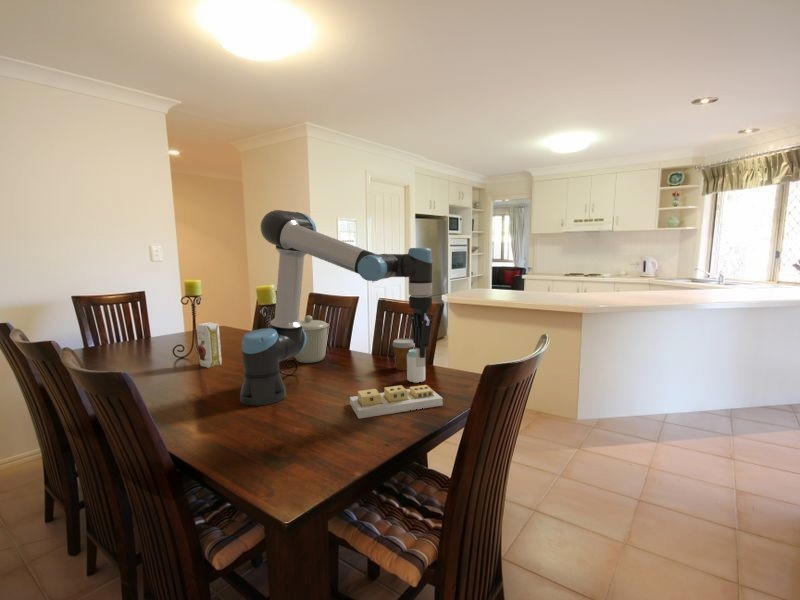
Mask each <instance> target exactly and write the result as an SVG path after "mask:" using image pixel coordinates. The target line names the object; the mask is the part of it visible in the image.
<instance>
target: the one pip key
mask: <svg viewBox="0 0 800 600" xmlns="http://www.w3.org/2000/svg"><path fill="white" fill-rule="evenodd" d="M380 393H381V392H379V391H378V390H377V389H376V388H371V389H364V390H363V389H362V390H358V391H357V396H358V402H359V404H360V405H361V407H365V406H372V405H378V404H381V395H380Z"/></svg>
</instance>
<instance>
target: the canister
mask: <svg viewBox="0 0 800 600" xmlns="http://www.w3.org/2000/svg"><path fill="white" fill-rule="evenodd" d="M300 322H301V323H302V328H303V329H304V332H305V333H306V336H307V341H306V345H305V347H304V349H303V350H302V351H301V352H300V353H298V354H297V355H295V356H294V357H295V360H296V361H297V362H299V363H301V364H313V363H319V362H321V361H322V360H324V359H325V356H326V351H327V341H328V339H327V338H328V327H329V326H330V324H329V323H327V322H326V321H324V320H319V319H313V316H311V315H309V314H308V315H306V316H304V320H300Z"/></svg>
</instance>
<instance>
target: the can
mask: <svg viewBox="0 0 800 600" xmlns="http://www.w3.org/2000/svg"><path fill="white" fill-rule="evenodd" d="M406 375H407V376H406V379H407V381H409V382H410V383H411V382H413V384H420V383H419V382H421V383H423V382H425V381H426V366H425V367H417V366H416V348H413V349H410V350H409V352H408V354H407V370H406Z"/></svg>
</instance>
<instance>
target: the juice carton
mask: <svg viewBox="0 0 800 600" xmlns="http://www.w3.org/2000/svg"><path fill="white" fill-rule="evenodd" d="M196 335H197V336H196V338H197V349H198V360H199V366H201V367H204V368H209V369H210V368H213V367H218V366H222V348H221V336H220V326H219V323H213V322H211V321H209V322H203V323H198V324H196Z"/></svg>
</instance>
